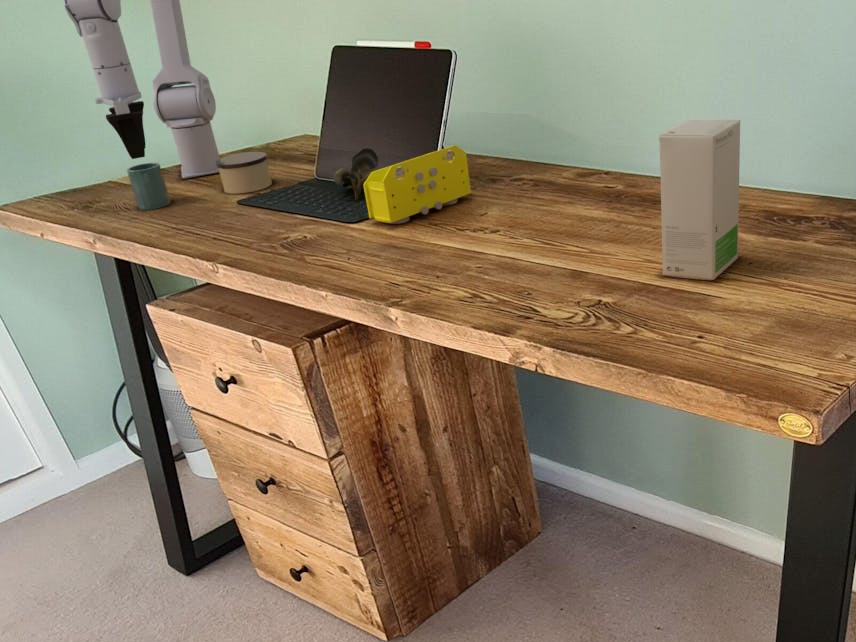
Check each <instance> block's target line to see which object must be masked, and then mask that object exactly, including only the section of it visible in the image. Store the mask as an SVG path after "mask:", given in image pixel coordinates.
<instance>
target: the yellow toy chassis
mask: <svg viewBox="0 0 856 642" xmlns="http://www.w3.org/2000/svg"><path fill="white" fill-rule="evenodd" d="M470 181H471V180H470V174H469V165H468V158H467V152H465V150H463V148H461V147H459V146H457V145H456V144H453V145H451V146H448V147H445V148H441V149H439V150H436V151H435V150H434V151H432V152H429V153H426V154H423V155H420V156H419V155H418V156H416V157H413V158H410V159H407V160H404V161H401V162H398V163H395V164H392V165H389V166H386V167H382V168H380V169H377V170H373V172H371V174H370V175H369V177H368V178H367V180H366V181H365V183H364V184H363V186H364V188H363V192H364V196H365V201H366V207H367V213H368V218H369V219H370V220H371V219H374V220H376V222H382V223H386V224H391V225H396V224H397V225H399V224H404V223H407V222H409V221H410V217H411V216H414V215H416V214H419V213H421V214H422V215H425V216H426V215H428V214H429V211H430V210H429V209H432V208H435V209H436V210H441V209H442V207H443V206H451V205H454V204H457V203H458V199H459V198H462V197H464V196H467V195H470V194H472V190H471V183H470Z"/></svg>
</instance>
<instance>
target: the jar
mask: <svg viewBox="0 0 856 642" xmlns="http://www.w3.org/2000/svg"><path fill="white" fill-rule="evenodd" d="M216 166H217V167H218V170H219V173H218V174H219V176H220V177H219V178H220V181H221V184H222V188H223V191H224V193H226V194H233V195H234V194H235V195H236V194H247V193H252V192H258V191H260V190H263V189H266V188H268V187H270V186H272V184H273V180H272V176H271V171H270V168H269V163H268V155H267V153H266V152H264V151H246V152H245V151H244V152H239V153H234V154H229V155H226V156H223V157H220V159H218V160H217V161H216Z"/></svg>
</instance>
